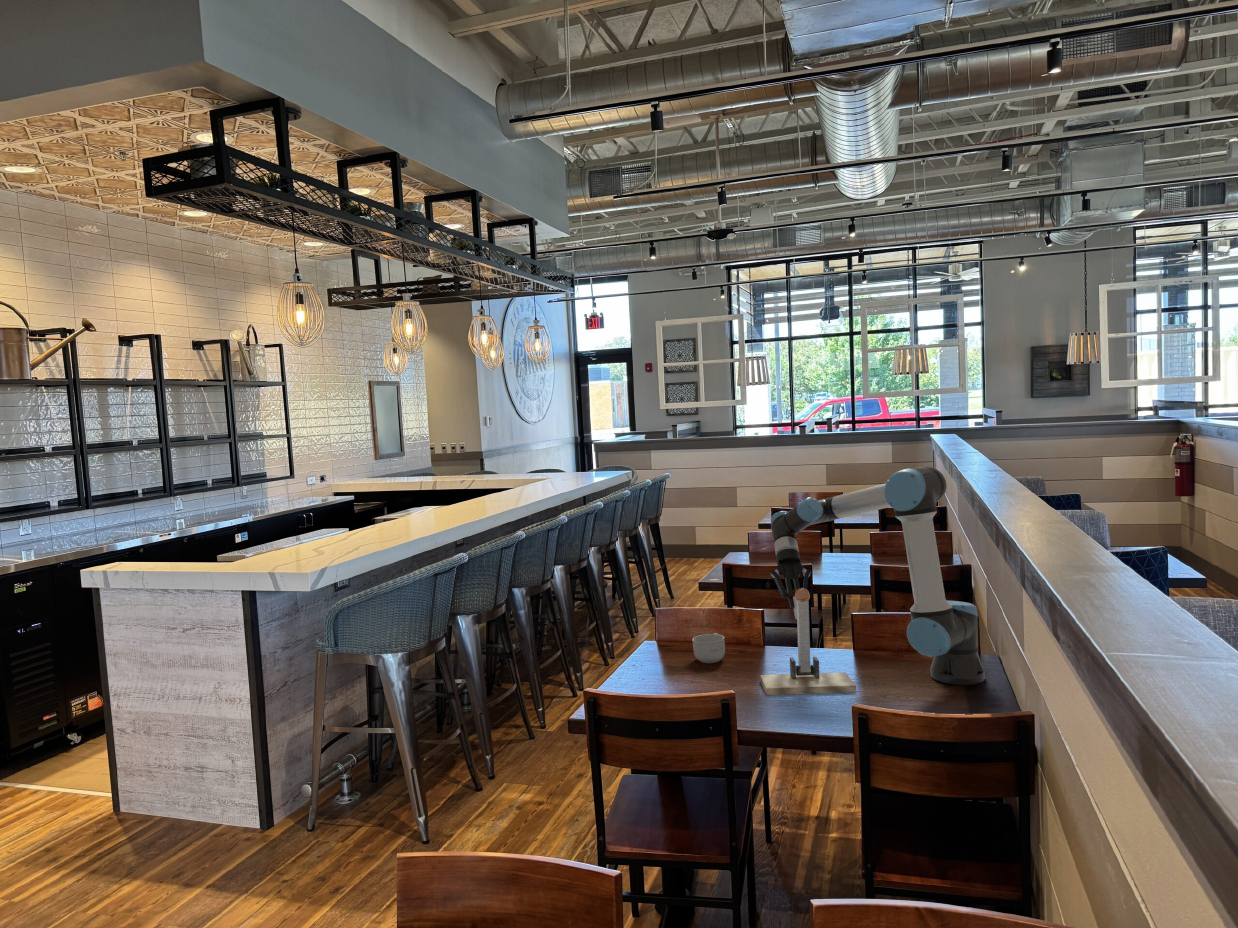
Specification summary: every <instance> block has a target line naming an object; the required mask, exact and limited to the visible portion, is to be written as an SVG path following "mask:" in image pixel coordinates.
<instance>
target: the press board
mask: <svg viewBox="0 0 1238 928" xmlns="http://www.w3.org/2000/svg"><path fill="white" fill-rule="evenodd" d="M796 663H797V662H796V660H795V658H794V657H793V656H792V657H791V656H790V657H789V671H790V672H789V673H783V674H780V673H779V674H760V677H759V678H760V684H761V686H762V688H763V690H764V692H765V694H766V695H765V696H773V695H774V696H775V695H778V696H779V695H782V696H783V695H805V694H807V695H808V694H810V695H812V694H839V693H857V686H856V684H855V682H854V681H853V680H852V678H851V677H850V676H849V675H848V674H847V672H845V671H844V672H842V671H841V672H820V660H819V658H818V657H817V656H812V665H813V667H814V675H805V676H796V666H797V665H796Z"/></svg>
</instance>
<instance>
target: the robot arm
mask: <svg viewBox="0 0 1238 928" xmlns="http://www.w3.org/2000/svg"><path fill="white" fill-rule="evenodd" d="M947 486H948V485H947V480H946V478H945V476H944V474H943V473H942V472H941V471H940V470H939V469H937V468H935V467H933V466H928V465H927V466H923V465H922V466H918V467H911V468H905V469H904V468H903V469H901V470H897V471H896V472H894V473H892V474H891V475H890V476H889V477H888V479H887V480H886V482H885V483H882V484H881V483H880V484H878V485H873V486H871V487H867V488H863V489H859V490H855V491H851V492H847V493H843V494H840V495H839V494H838V495H835V496H830V497H827V498H822V499H816V498H813V497H811V496H809V497H806V498H805V499H803V500H801V501H800V502H799V503H797V505H795V506H794V507H792V508H791V509H790V510H789V511H785V510H781V511H780V510H779V511H778V512H775V513H773V515H772V516H770V529H771V532H772V538H773V545H774V551H775V553H774V554H775V558H776V566H777V567H776V569H775V570H774V569H772V570H771V571H770V577H771V578H772V580H774V583H775V584H776V586H777V589H778V591H779V593H780V595H781V598H782V599H783V600H787V601H788V603H789V604H788V605H789V608H790V610H793V613H794V617H795V620H797V600H796V598H795V596H794V593H795V592H796V591H797V590H798V589H799V588H801V585H800V581H799V580H800V579H799V577H800V576H801V575H803V577H804V578H803V585H802V586H803V587H802V588H805V589H807V590H808V585H809V578H810V576H811V574H812V570H811V569H810V568H808V569H806V568H804V565H803V564H802V561H801V555H800V551H799V545H798V540H797V535H798V534H799V533H800V532H802V531H803V530H805V529H806V528H807V527H809V526H812V525H816V524H817V525H818V524H821V523H825V522H832V521H836V520H839V519H844V518H848V517H852V516H857V515H860V514H865V513H869V512H873V511H877V510H878V511H879V510H882V509H883V510H884V509H886V508H892V509H893V511H894V512H893V513H894V517H895V518H896V519H898V521H900V523H901V526H902V534H903V538H904V539H903V540H904V544H905V551H906V558H907V565H908V570H909V571H908V572H909V577H910V583H911V589H912V596H913V600H914V601H913V602H914V603H913V604H912V606H911V607H910V608H909V611H910V618H911V621H910V622H909V624H908V626H907V628H906V638H907V640H908V643H909V644H910V646H911V647H912V648H913V649H914V650H915V651H916V652H917V653H919V655H922V656H924V657H930V658H933V659H932V662H931V665H930V671H929V672H930V677H931V678H932V679H933V680H934V681H937V682H940V683H944V684H949V685H954V686H955V685H957V686H970V685H971V686H973V685H978V684H981V683H983V682H984V681H985V677H986V675H985V674H986V673H985V669H984V667H983V663H982V662H981V661H982V660H981V659H980V656H979V648H978V647H979V645H978V644H979V640H978V636H979V635H978V633H979V632H978V626H979V625H978V617H979V615H978V610H977V609H978V608H977V606H976V605H974V604H973V603H970V602H967V601H966V602H965V601H958V600H947V599H946V595H945V588H944V582H943V576H942V569H941V563H940V557H939V551H938V544H937V538H936V533H935V526H934V517H935V515H936V514H937V513H938V511H937V510H938V508H937V502H939V501H941V500H942V499H943V498H944V496H945V494H946V491H947ZM780 576H781V577H782V578H783V579H784V582H785V586H786V588H785V586H784V583H783V581H782V579H781V577H780ZM791 580H792V581H791ZM792 582H793V585H794V586H793V585H792ZM793 587H794V592H793Z"/></svg>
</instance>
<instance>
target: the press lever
mask: <svg viewBox="0 0 1238 928" xmlns="http://www.w3.org/2000/svg"><path fill="white" fill-rule="evenodd" d="M810 596H811V594H810V591H809V590H808V588H807V589H805V588H803V587H800V588H799V589H798V590H797V591H796V592H795V591H794V597H795V598H796V600H797V619H796V622H797V623H796V625H797V626H796V627H797V629H796V630H797V657H798V665H796V676H805V675H814V667H813V664H811V640H810V639H811V638H810V637H811V635H810V610H809V609H810V605H809V603H810V602H809V600H810V598H811V597H810Z"/></svg>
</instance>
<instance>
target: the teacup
mask: <svg viewBox="0 0 1238 928" xmlns="http://www.w3.org/2000/svg"><path fill="white" fill-rule="evenodd" d="M691 641H692V647H693V654H694V657H695V659H697V660H698V661H700V663H703V664H715V663H718V662H720V661H721V659H722V658H724V656H725V654H726V644H725V636H724V635H722V634H719V633H717V632H714V633H705V634H700V635H696V636H693V638H692V640H691Z"/></svg>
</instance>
